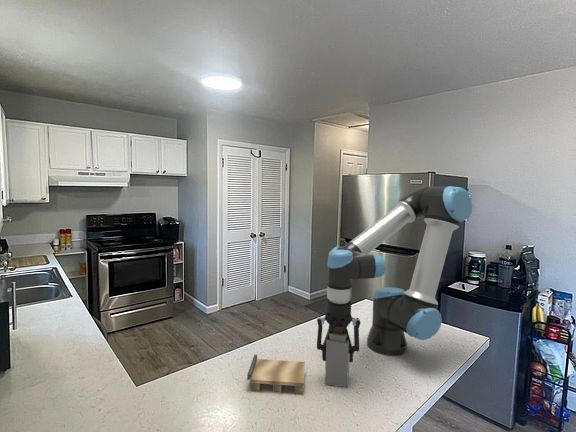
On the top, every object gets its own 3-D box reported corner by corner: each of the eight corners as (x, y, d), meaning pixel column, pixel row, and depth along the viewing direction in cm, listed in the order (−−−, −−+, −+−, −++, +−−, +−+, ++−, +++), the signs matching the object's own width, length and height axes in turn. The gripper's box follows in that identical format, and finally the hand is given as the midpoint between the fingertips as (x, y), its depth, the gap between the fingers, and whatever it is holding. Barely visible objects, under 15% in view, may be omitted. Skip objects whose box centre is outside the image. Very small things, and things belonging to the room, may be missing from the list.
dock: (304, 371, 107) (305, 357, 107) (303, 394, 95) (304, 378, 95) (254, 368, 108) (254, 354, 108) (247, 390, 96) (247, 374, 96)
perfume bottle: (347, 386, 99) (349, 330, 97) (325, 384, 100) (326, 327, 99) (347, 374, 105) (349, 321, 104) (326, 372, 107) (328, 319, 105)
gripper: (367, 296, 104) (364, 365, 106) (308, 294, 105) (307, 362, 107) (371, 305, 96) (369, 379, 98) (308, 302, 98) (307, 375, 99)
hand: (337, 370), depth 103 cm, fingers closed on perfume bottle, 6 cm apart
